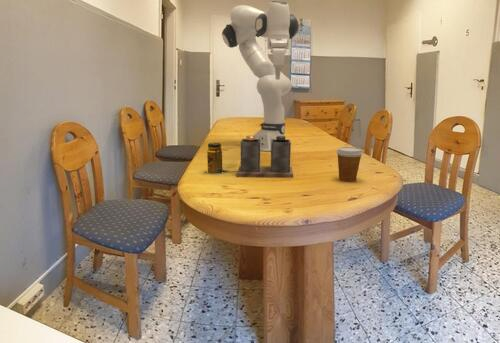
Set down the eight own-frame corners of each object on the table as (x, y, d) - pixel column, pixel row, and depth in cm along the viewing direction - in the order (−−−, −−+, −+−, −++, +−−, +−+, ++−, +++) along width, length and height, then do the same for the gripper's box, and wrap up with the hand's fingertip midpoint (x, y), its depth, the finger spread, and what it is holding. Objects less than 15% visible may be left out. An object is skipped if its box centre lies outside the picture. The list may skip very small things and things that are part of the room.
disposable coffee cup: (340, 175, 150) (342, 145, 147) (363, 178, 144) (366, 148, 141) (330, 180, 142) (332, 149, 139) (355, 184, 137) (357, 152, 134)
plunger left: (243, 167, 149) (243, 137, 146) (244, 164, 154) (244, 135, 151) (257, 167, 148) (257, 137, 145) (257, 164, 154) (257, 135, 151)
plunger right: (273, 168, 148) (274, 137, 145) (273, 164, 153) (273, 135, 150) (287, 168, 148) (288, 137, 145) (286, 165, 153) (287, 135, 150)
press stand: (237, 176, 146) (237, 143, 143) (239, 169, 158) (239, 137, 155) (293, 177, 145) (294, 143, 142) (291, 170, 157) (292, 138, 154)
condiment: (203, 172, 153) (202, 143, 150) (217, 168, 160) (217, 141, 157) (215, 175, 149) (215, 145, 146) (230, 171, 155) (230, 143, 152)
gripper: (270, 46, 160) (269, 79, 163) (270, 42, 140) (270, 79, 144) (285, 46, 160) (284, 79, 163) (287, 42, 140) (286, 79, 143)
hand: (277, 79), depth 153 cm, fingers closed
